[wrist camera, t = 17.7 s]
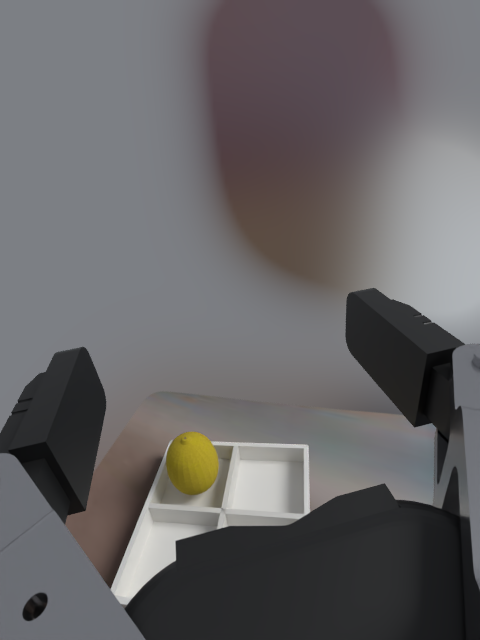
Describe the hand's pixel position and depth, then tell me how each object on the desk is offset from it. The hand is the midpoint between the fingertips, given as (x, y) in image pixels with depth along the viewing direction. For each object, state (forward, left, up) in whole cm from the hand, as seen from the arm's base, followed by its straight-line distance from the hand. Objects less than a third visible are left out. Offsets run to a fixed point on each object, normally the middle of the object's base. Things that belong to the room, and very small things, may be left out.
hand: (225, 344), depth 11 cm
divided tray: (+11, +6, -30) cm, 32 cm away
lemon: (+15, +10, -30) cm, 34 cm away
